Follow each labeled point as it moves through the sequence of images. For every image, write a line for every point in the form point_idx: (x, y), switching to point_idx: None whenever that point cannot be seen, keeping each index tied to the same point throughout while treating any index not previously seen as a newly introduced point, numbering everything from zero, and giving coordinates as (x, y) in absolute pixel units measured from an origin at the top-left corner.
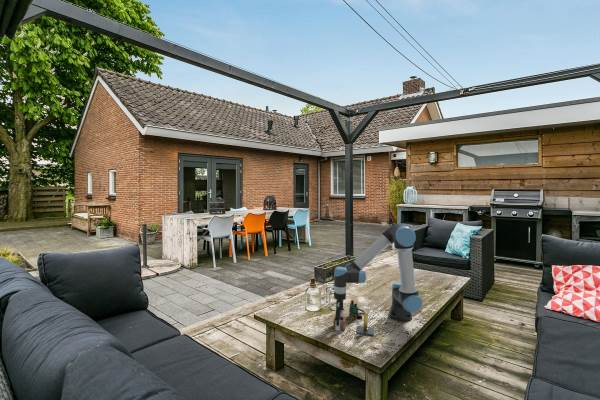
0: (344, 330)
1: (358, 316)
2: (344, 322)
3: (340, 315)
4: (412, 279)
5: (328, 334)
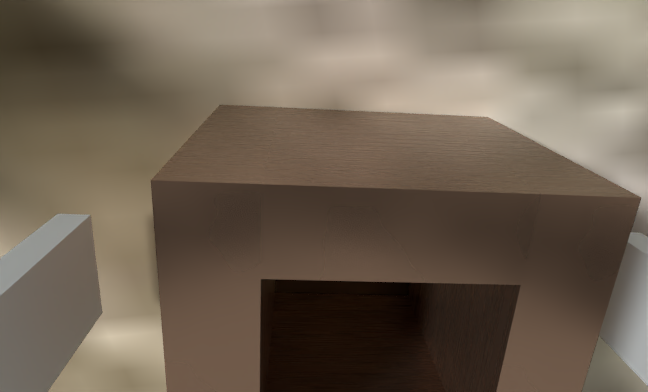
0: (491, 122)
1: None
2: (611, 191)
3: (18, 363)
4: None
5: (630, 386)
